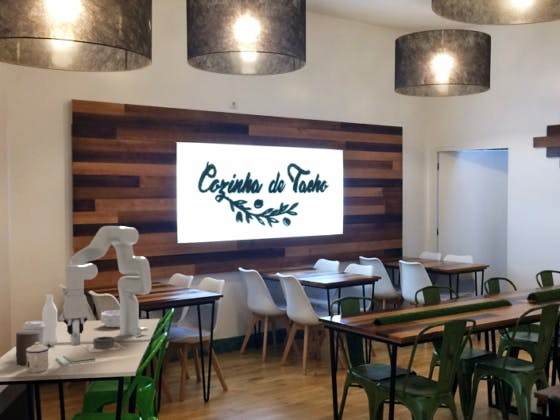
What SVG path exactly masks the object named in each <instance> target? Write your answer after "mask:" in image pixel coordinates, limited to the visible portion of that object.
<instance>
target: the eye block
mask: <svg viewBox="0 0 560 420" xmlns="http://www.w3.org/2000/svg"><path fill="white" fill-rule="evenodd" d="M83 347H84V348H85V349H86V350H88V352H89V353H98V352H107V351H115V350H121V349H123V350H124V349H125V347H124V346H123V345H122V344H119V343H118V342H117V341H115V338H114V337H112V336H99V337H98V336H97V337H95V338H93V344H83Z"/></svg>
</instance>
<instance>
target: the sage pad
mask: <svg viewBox="0 0 560 420" xmlns="http://www.w3.org/2000/svg"><path fill="white" fill-rule="evenodd" d="M55 357H56V361H58V362H59V363H60V364H61V366H63V367H65V366H73V365H74V366H75V365H79V364H81V363H82V364H88V363H89V362H90V363H95V361H97V359H96V358H89V359H81V360H73V361H70V360H69V359H68V358H67V357H66V356H65V355H60V356H55ZM90 363H89V364H90Z"/></svg>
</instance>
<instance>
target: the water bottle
mask: <svg viewBox="0 0 560 420" xmlns="http://www.w3.org/2000/svg"><path fill="white" fill-rule="evenodd" d="M45 297H46V299H45V303H44V306H43V308H42V310H41V317H42V318H41V321H43V323H44V324H45V327H44V334H43V346H47V347H49V346H50V347H54V344H57V343H58V341H59V338H58V337H59V336H58V332H57V330H58V329H57V328H58V322H59V321H58V308H57V306H56V304H55V302H54V295H53V294H52V293H51V294H49V293H48V294H45Z"/></svg>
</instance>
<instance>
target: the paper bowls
mask: <svg viewBox="0 0 560 420" xmlns="http://www.w3.org/2000/svg"><path fill="white" fill-rule="evenodd" d="M100 322H101V323H103V324H104V325H105V327H107V328H109V327H117V328H120V309H117V310H116V309H114V310H113V309H112V310H111V309H110V310H104V311H102V312H101V313H100Z"/></svg>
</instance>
